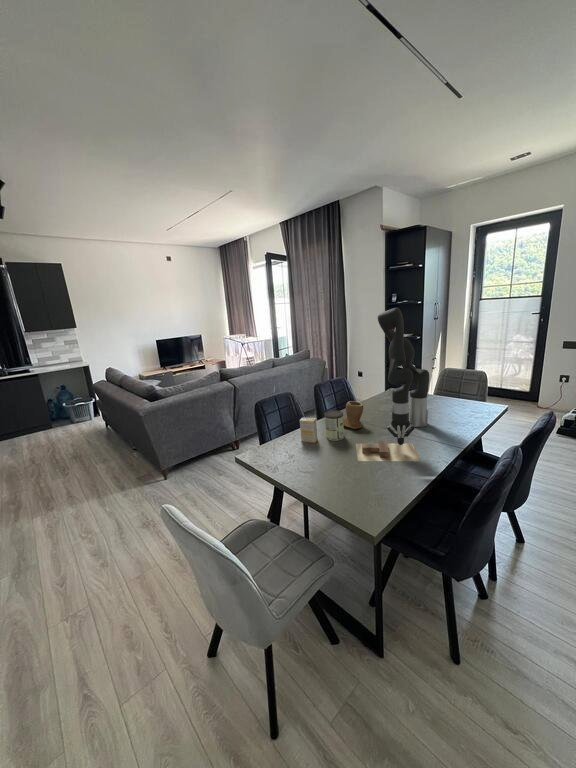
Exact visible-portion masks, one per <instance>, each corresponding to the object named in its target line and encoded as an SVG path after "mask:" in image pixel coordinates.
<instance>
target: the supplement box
mask: <svg viewBox="0 0 576 768" xmlns="http://www.w3.org/2000/svg"><path fill="white" fill-rule="evenodd" d="M299 428H300V439H301V442H302V443H309V444H316V442H318V439H319V438H318V429H317V419H316V418H315V417H301V418H300V419H299Z"/></svg>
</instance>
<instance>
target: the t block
mask: <svg viewBox="0 0 576 768" xmlns="http://www.w3.org/2000/svg"><path fill="white" fill-rule="evenodd" d="M387 441H388V440H378V442H377V443H361V444H362V453H379V455H380V458H389V451H388V446H387V444H388V443H387Z"/></svg>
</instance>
